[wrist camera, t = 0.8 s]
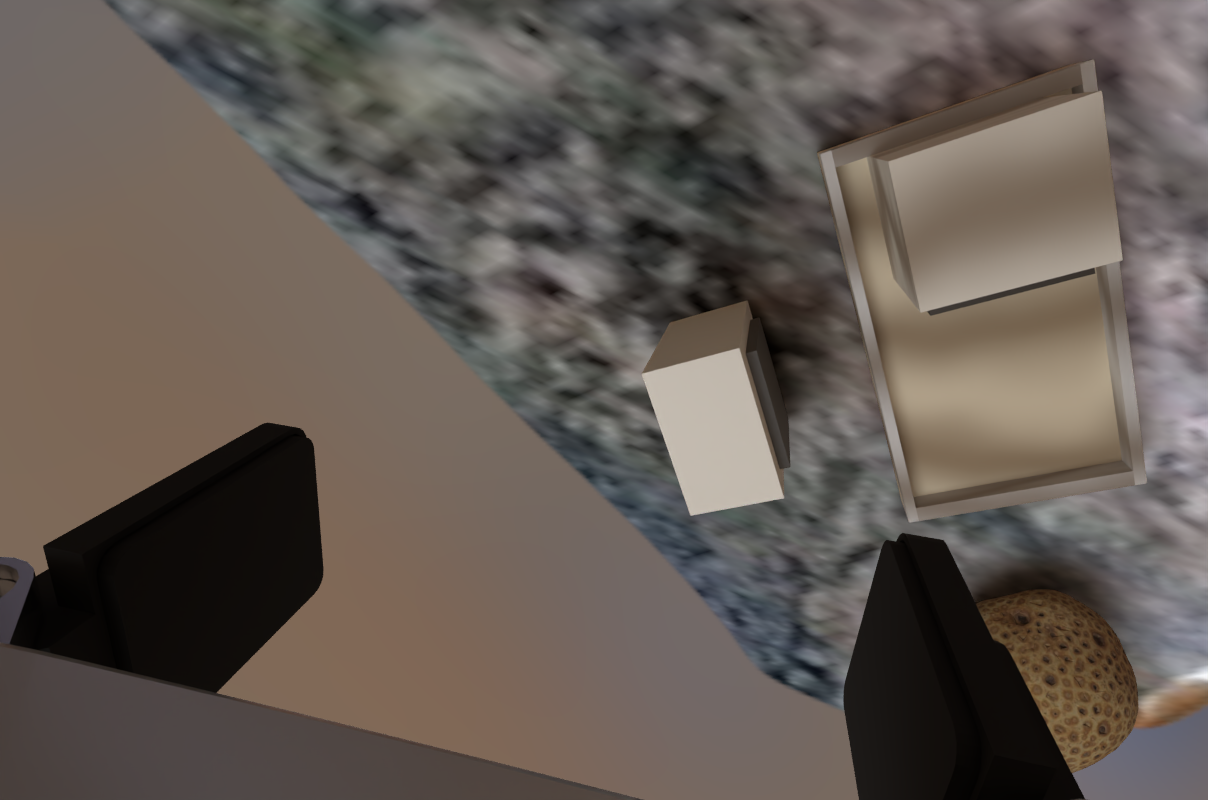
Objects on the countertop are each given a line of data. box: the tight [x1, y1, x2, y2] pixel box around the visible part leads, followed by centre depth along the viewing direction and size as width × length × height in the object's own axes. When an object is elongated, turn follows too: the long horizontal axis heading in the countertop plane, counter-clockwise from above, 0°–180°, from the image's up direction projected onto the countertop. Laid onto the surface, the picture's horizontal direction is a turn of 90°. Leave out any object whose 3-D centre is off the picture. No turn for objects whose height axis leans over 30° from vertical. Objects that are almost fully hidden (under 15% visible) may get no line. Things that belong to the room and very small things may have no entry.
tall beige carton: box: [642, 300, 790, 515], centre depth 35 cm, size 5×8×9 cm, turn 19°
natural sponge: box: [976, 589, 1138, 773], centre depth 36 cm, size 9×9×10 cm
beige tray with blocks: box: [817, 59, 1147, 523], centre depth 31 cm, size 20×11×8 cm, turn 19°
